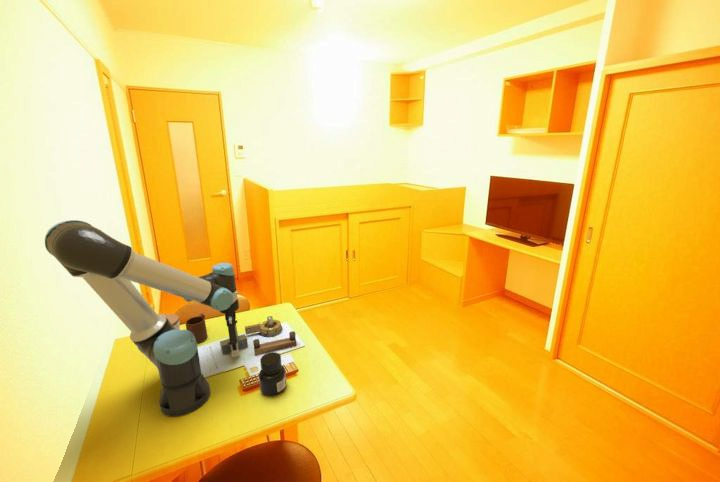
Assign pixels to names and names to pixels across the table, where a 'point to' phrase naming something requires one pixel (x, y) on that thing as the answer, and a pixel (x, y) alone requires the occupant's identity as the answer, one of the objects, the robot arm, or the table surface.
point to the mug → (197, 327)
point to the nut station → (270, 325)
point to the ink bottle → (272, 375)
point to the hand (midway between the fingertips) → (235, 346)
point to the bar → (227, 348)
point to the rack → (274, 344)
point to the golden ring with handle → (263, 328)
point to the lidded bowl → (173, 320)
